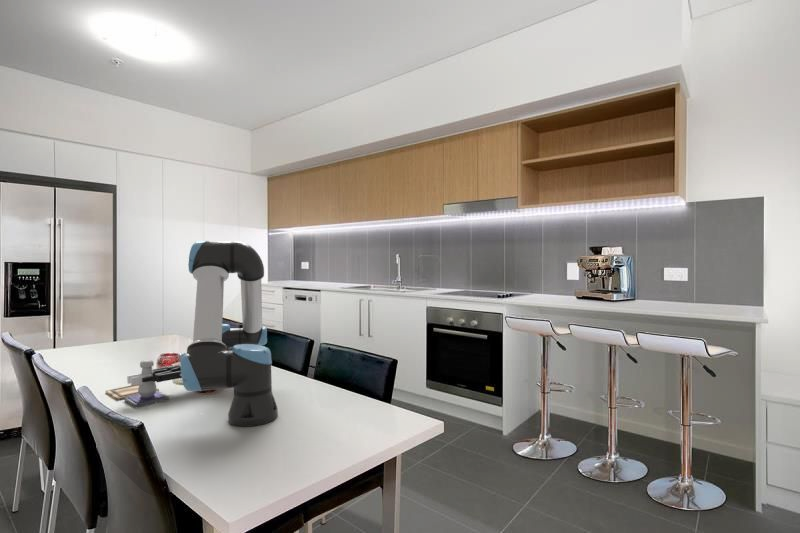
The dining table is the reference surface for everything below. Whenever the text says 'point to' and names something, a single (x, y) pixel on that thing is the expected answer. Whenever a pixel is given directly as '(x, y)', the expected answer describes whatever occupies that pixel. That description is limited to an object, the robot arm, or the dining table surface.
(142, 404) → the ink pad
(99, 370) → the dining table surface
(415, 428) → the dining table surface
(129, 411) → the dining table surface
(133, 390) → the marked board
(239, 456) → the dining table surface
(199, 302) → the robot arm
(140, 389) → the salt shaker
